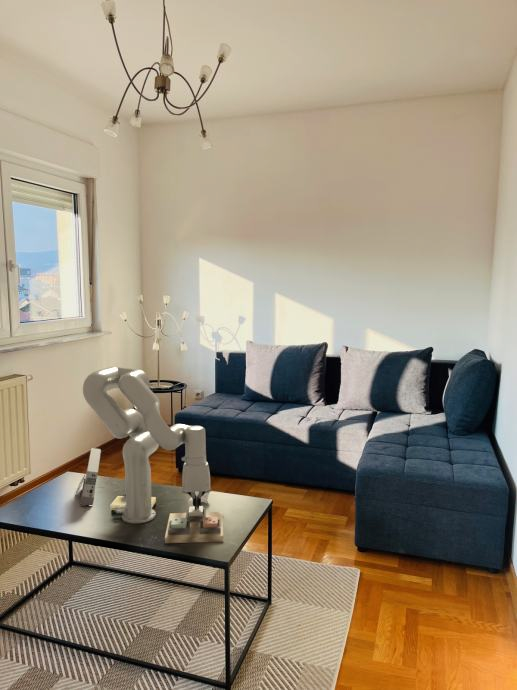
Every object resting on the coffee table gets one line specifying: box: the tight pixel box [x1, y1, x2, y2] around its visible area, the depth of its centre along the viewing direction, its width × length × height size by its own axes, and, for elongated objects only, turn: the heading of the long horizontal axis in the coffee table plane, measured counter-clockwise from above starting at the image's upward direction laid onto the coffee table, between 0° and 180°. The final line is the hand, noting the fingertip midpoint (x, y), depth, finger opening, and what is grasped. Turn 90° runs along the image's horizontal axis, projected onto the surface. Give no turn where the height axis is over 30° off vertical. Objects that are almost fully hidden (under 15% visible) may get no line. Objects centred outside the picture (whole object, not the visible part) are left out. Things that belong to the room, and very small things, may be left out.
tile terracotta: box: [203, 517, 218, 528], centre depth 190 cm, size 5×5×2 cm
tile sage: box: [171, 518, 187, 529], centre depth 189 cm, size 5×5×2 cm
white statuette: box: [187, 491, 211, 507], centre depth 215 cm, size 6×8×12 cm
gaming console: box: [75, 447, 102, 507], centre depth 221 cm, size 23×8×20 cm, turn 15°
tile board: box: [164, 507, 224, 544], centre depth 194 cm, size 20×20×4 cm
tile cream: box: [188, 505, 204, 516], centre depth 199 cm, size 5×5×2 cm
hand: (197, 507), depth 199 cm, fingers closed
